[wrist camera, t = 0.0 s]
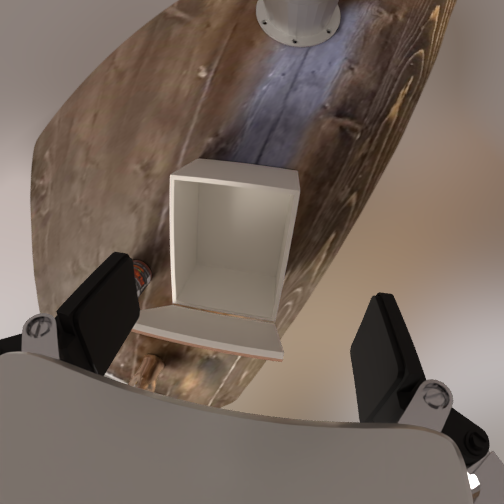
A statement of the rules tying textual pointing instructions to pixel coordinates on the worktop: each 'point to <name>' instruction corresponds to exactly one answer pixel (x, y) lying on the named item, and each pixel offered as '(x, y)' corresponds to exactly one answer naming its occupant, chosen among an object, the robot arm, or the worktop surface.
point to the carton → (231, 235)
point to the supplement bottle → (141, 276)
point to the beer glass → (147, 373)
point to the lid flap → (211, 332)
